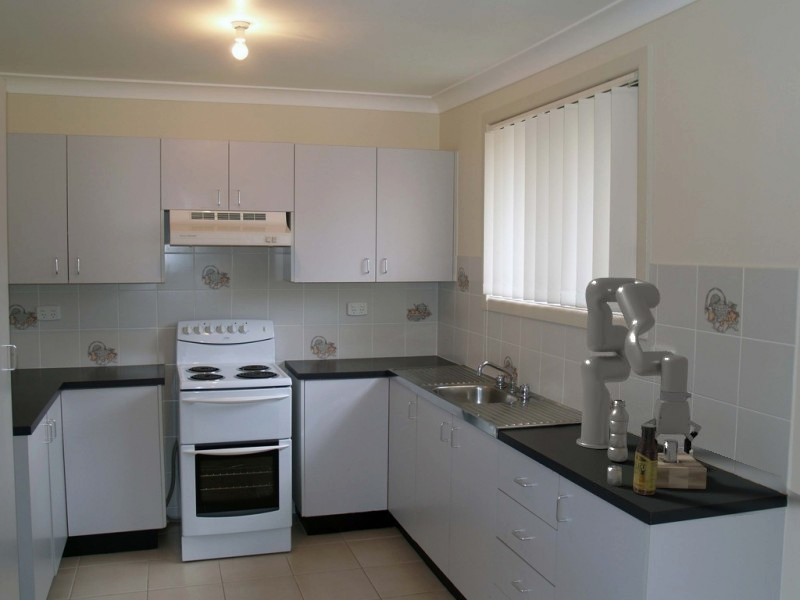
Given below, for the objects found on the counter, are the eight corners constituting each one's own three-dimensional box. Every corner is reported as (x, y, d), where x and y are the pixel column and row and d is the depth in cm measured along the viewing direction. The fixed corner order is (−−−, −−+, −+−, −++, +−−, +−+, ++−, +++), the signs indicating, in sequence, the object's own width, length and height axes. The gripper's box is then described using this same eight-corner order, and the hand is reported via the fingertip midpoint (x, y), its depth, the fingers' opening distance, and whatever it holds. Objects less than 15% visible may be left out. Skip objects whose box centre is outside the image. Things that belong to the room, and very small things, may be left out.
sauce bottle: (628, 489, 222) (631, 422, 221) (648, 488, 224) (651, 421, 222) (640, 497, 216) (643, 427, 214) (660, 496, 217) (663, 426, 216)
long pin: (660, 477, 235) (662, 439, 234) (673, 477, 234) (675, 439, 234) (664, 481, 231) (666, 442, 230) (678, 482, 230) (679, 442, 230)
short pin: (604, 483, 228) (604, 467, 227) (614, 480, 230) (614, 464, 229) (614, 487, 224) (614, 470, 224) (624, 484, 226) (624, 468, 226)
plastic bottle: (605, 462, 250) (608, 401, 248) (608, 457, 256) (610, 398, 255) (626, 464, 247) (629, 403, 246) (628, 459, 254) (630, 399, 252)
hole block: (635, 471, 241) (636, 452, 240) (687, 472, 240) (688, 453, 240) (650, 487, 225) (651, 467, 224) (705, 488, 224) (706, 468, 224)
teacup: (683, 462, 252) (684, 446, 252) (697, 469, 245) (698, 452, 244) (656, 463, 250) (656, 447, 249) (669, 470, 242) (670, 453, 242)
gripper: (697, 394, 234) (695, 449, 235) (640, 393, 235) (638, 448, 236) (706, 399, 227) (703, 456, 228) (647, 398, 227) (645, 455, 229)
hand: (670, 452), depth 232 cm, fingers open, 9 cm apart
